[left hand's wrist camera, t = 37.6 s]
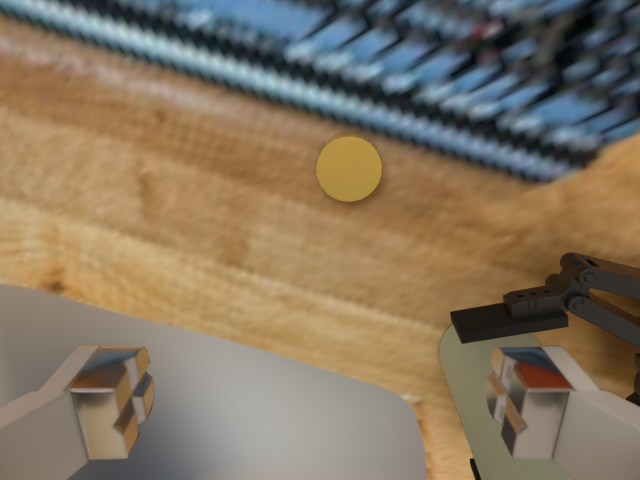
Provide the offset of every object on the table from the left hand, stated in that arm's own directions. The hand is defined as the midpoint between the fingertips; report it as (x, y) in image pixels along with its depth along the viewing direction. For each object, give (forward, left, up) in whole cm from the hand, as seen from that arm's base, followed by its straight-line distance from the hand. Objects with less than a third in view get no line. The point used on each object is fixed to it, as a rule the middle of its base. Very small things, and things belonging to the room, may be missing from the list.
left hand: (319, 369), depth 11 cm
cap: (+1, -1, -21) cm, 21 cm away
